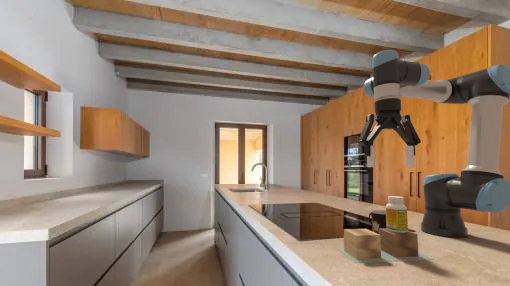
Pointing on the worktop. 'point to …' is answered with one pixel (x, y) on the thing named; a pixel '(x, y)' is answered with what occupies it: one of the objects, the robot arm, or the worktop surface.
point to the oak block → (362, 243)
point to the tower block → (399, 243)
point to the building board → (385, 257)
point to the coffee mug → (378, 220)
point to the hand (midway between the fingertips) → (390, 166)
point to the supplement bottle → (396, 215)
